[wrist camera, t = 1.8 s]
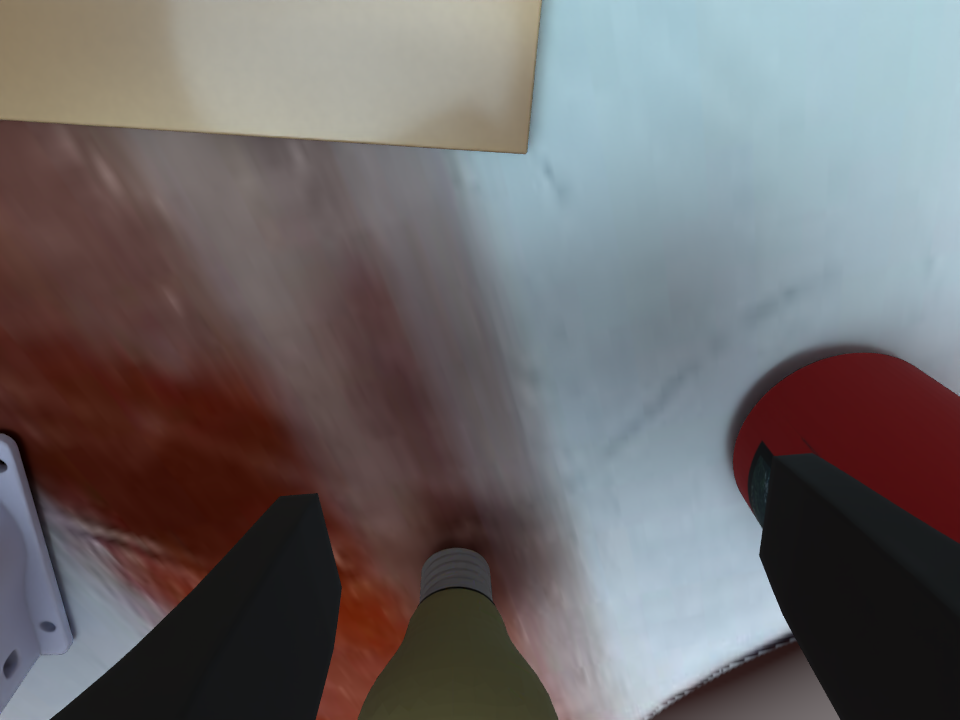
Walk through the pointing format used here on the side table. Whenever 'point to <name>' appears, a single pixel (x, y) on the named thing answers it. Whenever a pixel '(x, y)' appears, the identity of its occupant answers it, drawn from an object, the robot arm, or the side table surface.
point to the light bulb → (457, 654)
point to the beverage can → (861, 434)
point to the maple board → (278, 68)
